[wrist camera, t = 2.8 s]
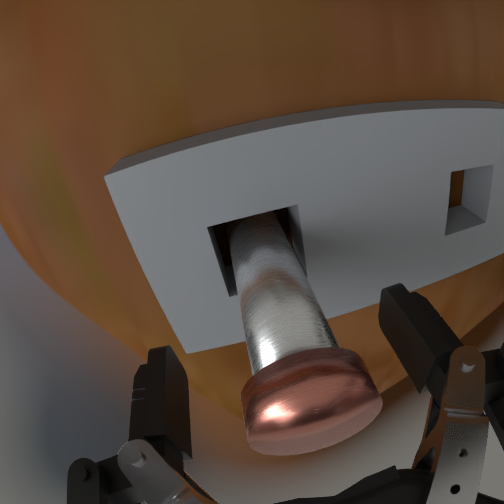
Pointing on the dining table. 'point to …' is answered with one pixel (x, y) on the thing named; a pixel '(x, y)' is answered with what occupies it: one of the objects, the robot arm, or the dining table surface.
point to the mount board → (317, 205)
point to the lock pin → (292, 350)
